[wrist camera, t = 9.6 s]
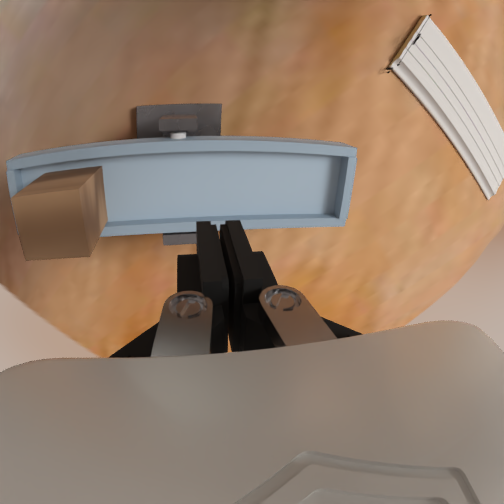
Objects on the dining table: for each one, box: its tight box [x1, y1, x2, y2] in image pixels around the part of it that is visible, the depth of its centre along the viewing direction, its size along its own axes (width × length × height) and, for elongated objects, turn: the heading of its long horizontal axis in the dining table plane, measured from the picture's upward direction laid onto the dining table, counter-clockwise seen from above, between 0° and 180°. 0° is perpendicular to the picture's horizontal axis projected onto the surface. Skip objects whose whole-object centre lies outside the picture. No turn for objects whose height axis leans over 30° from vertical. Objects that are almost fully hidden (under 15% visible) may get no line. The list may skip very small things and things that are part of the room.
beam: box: [6, 132, 357, 237], centre depth 23 cm, size 8×28×3 cm, turn 87°
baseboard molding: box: [386, 14, 504, 200], centre depth 33 cm, size 31×3×12 cm
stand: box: [137, 104, 222, 245], centre depth 26 cm, size 12×28×8 cm, turn 87°
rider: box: [11, 166, 108, 261], centre depth 18 cm, size 4×5×6 cm
